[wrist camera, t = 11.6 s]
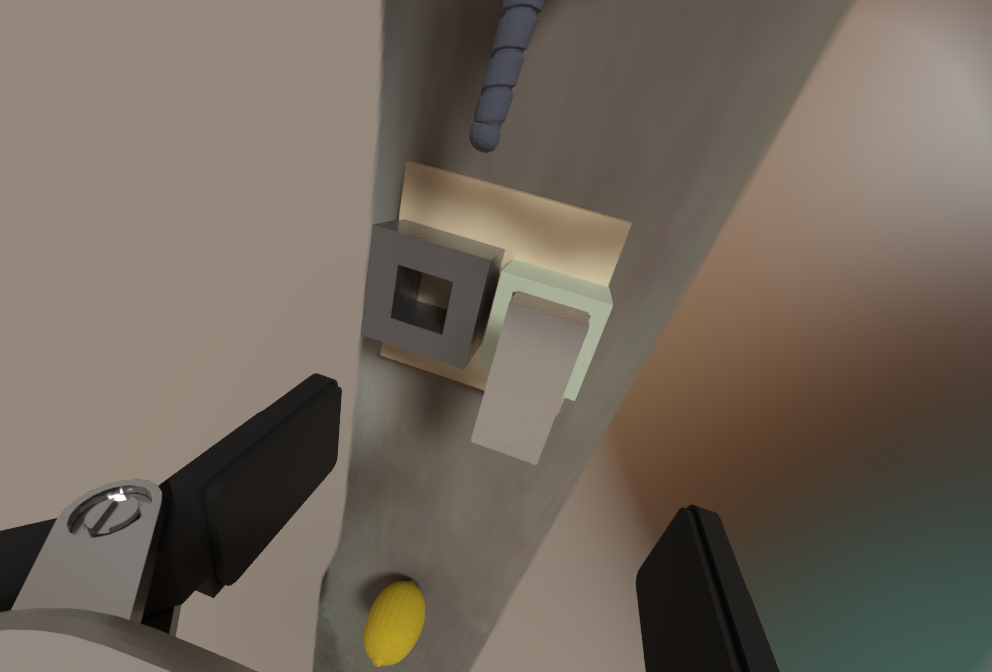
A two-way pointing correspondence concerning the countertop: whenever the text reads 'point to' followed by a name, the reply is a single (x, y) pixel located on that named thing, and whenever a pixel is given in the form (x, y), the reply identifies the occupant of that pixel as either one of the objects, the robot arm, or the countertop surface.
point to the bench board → (503, 241)
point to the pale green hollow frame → (556, 290)
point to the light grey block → (529, 375)
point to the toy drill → (503, 70)
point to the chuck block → (397, 280)
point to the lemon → (394, 623)
